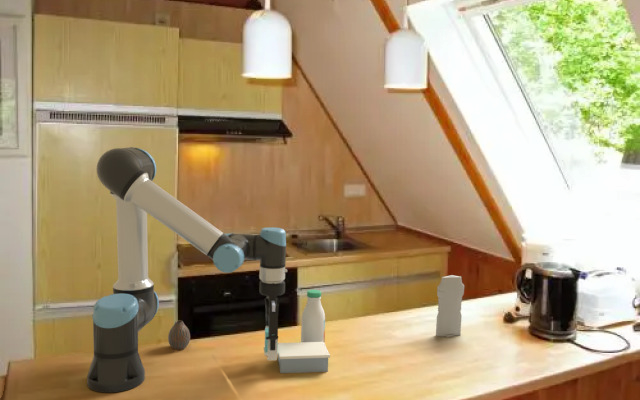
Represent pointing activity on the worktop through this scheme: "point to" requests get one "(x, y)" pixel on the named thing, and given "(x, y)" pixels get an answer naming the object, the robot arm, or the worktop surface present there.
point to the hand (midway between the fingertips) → (270, 353)
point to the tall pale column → (449, 306)
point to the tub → (303, 365)
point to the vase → (179, 336)
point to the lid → (298, 349)
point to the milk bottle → (313, 319)
